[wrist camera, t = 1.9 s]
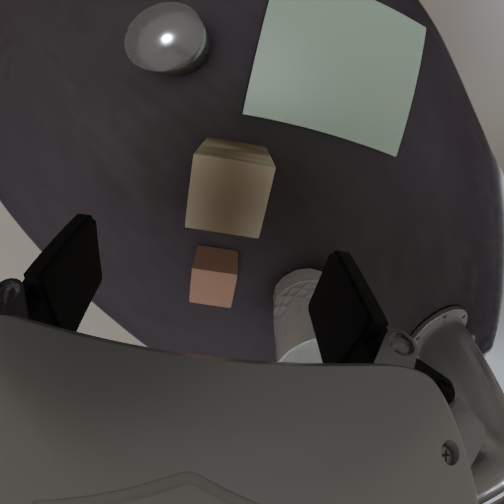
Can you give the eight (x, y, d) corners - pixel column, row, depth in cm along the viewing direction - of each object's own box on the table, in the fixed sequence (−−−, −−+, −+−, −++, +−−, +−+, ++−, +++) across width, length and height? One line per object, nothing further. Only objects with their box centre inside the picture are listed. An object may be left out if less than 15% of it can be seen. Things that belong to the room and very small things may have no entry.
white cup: (297, 250, 28) (319, 323, 19) (349, 281, 30) (380, 349, 22) (254, 301, 31) (258, 376, 23) (306, 324, 33) (322, 392, 25)
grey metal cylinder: (217, 25, 16) (209, 3, 11) (205, 78, 19) (193, 72, 14) (158, 22, 15) (133, 3, 10) (147, 74, 18) (118, 70, 13)
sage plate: (420, 29, 15) (426, 28, 14) (390, 154, 22) (396, 156, 21) (276, -27, 13) (277, -32, 12) (242, 113, 20) (242, 114, 20)
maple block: (266, 147, 22) (275, 167, 16) (254, 200, 25) (258, 238, 19) (207, 137, 21) (193, 153, 16) (199, 191, 24) (184, 227, 18)
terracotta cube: (237, 250, 27) (237, 274, 24) (231, 282, 30) (230, 307, 26) (197, 244, 27) (191, 268, 24) (194, 276, 29) (189, 301, 26)
